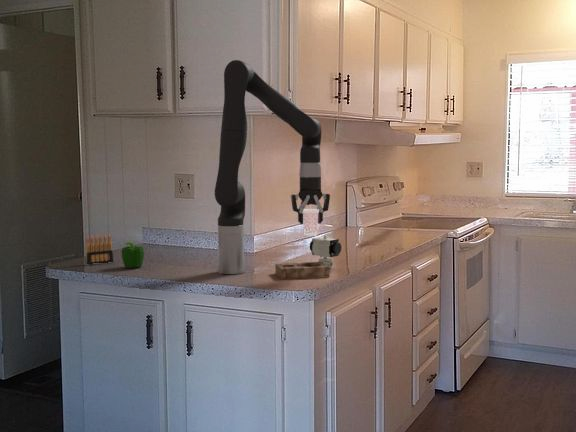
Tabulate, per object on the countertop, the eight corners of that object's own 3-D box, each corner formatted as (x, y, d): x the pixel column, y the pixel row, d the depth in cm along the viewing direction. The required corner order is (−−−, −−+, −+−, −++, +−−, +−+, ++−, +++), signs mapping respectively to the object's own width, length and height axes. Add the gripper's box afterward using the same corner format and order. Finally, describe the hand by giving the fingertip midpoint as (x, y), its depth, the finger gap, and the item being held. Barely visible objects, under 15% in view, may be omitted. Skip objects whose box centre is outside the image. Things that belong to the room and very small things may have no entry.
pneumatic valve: (316, 265, 267) (316, 234, 266) (341, 268, 260) (341, 236, 259) (307, 267, 263) (307, 235, 262) (333, 270, 256) (333, 238, 254)
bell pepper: (142, 265, 272) (141, 239, 271) (146, 268, 264) (145, 242, 263) (120, 266, 269) (119, 240, 268) (123, 270, 261) (122, 243, 260)
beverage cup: (302, 236, 243) (301, 196, 242) (301, 234, 250) (301, 194, 248) (319, 236, 244) (319, 196, 242) (318, 233, 250) (318, 194, 248)
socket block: (281, 279, 240) (281, 269, 240) (275, 273, 251) (275, 263, 251) (329, 276, 244) (329, 266, 243) (321, 271, 254) (321, 261, 254)
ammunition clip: (87, 265, 272) (85, 235, 270) (85, 265, 273) (84, 234, 272) (113, 262, 278) (112, 232, 277) (111, 262, 279) (110, 232, 278)
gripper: (292, 176, 239) (292, 225, 241) (333, 175, 242) (333, 224, 244) (287, 175, 247) (288, 223, 248) (327, 174, 250) (327, 221, 251)
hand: (310, 223), depth 246 cm, fingers closed on beverage cup, 6 cm apart
